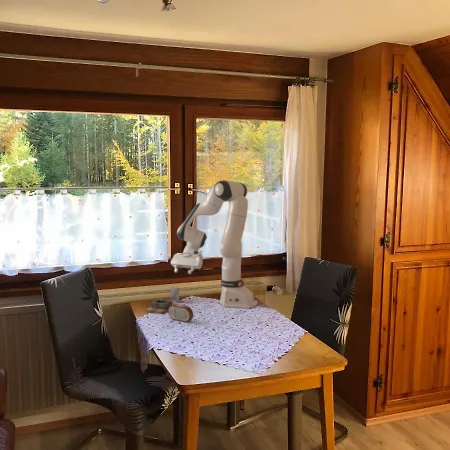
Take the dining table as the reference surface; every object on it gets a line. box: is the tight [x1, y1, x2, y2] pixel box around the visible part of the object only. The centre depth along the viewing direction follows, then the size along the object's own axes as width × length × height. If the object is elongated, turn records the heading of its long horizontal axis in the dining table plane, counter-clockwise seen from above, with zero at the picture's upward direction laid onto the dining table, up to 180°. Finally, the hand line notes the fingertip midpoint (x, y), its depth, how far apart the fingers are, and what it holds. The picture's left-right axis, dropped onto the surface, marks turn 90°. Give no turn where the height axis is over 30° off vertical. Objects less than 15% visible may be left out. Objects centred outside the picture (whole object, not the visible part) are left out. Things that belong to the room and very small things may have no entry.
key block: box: [169, 286, 180, 303], centre depth 291 cm, size 4×3×8 cm
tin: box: [167, 303, 194, 323], centre depth 257 cm, size 15×3×8 cm, turn 58°
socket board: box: [144, 298, 177, 315], centre depth 278 cm, size 11×17×4 cm, turn 156°
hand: (182, 272), depth 299 cm, fingers open, 8 cm apart
